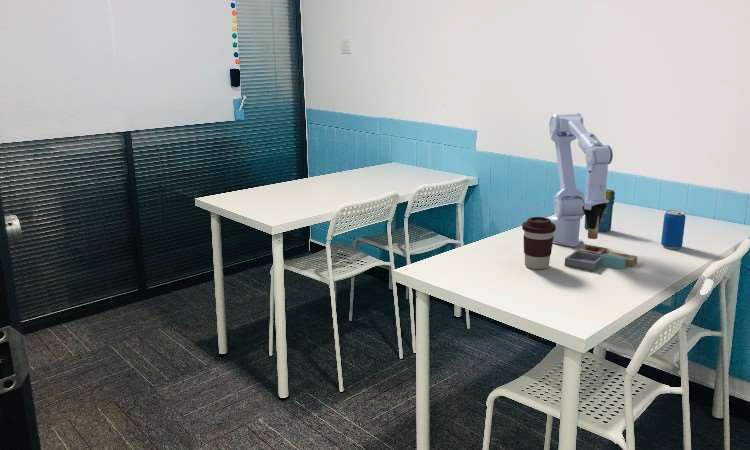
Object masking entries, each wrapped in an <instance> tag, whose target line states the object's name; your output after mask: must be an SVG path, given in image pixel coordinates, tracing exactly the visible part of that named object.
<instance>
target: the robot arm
mask: <svg viewBox="0 0 750 450" xmlns="http://www.w3.org/2000/svg"><path fill="white" fill-rule="evenodd" d="M551 115H552V116H551V117H550V119H549V122H548V127H549V135H550V140H551V141H552V142H554V145H555V154H556V161H557V162H556V163H557V171H558V177H559V178H558V179H559V185H560V186H559V187H560V190H559V191H558V192H557V193H556V194H555V195H554V197H553V209H552V210H553V214H554V215H553V216H552V217H551V219H550V220H551V222H552V223H554V224H555V225H556V230H555V231H554V232H553V244H555V245H561V246H566V247H572V248H576V247H577V246H578V245H580V244H581V243H583V242H584V241H583V239H580V230H581V229H580V227H581V220H582V219H583V217H585V216H586V221H587V227H588V228H589V229H595V227H596V224H597V219H598V216H599V224H600V221H601V218H602V215H603V212H604V210H605V209H606V207H607V204H606V203H608V202H609V200H607V199H606V189H607V183H608V182H607V181H608V173H609V172H608V170H609V165H610V164H611V163H612V161H613V159H614V158H613V156H614V153H613V149H612V148H611V146H610V145H609V144H607V145H606V144H603V143H602V142H601V141H600V140H599V139H598V137H597V136H596V135H595V133H593V132H588V130H587V128H586V127H585V125H584V117H583V115H582V114H581V113H579V112H578V113H565V114H564V113H561V114H559V113H554V114H551ZM575 140H578V142H577V144H578V147H579V148H580V149H581V151H582V152H583V153H584V155H585V156H584V157H585V163H586V170H587V177H586V178H587V179H586V193H585V194H584V192H582V191H581V190H579V189H578V188H577V187H576V178H575V171H574V170H575V168H574V164H573V163H574V162H573V154H572V146H571V143H572V142H573V141H575Z"/></svg>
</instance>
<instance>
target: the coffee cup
mask: <svg viewBox="0 0 750 450" xmlns="http://www.w3.org/2000/svg"><path fill="white" fill-rule="evenodd" d="M521 229H522V230H523V254H524V266H525V267H526V268H529V269H530V270H531V269H532V270H545V269H548V268H549V266H550V261H551V255H552V249H553V244H554V243H553V232H554V231H555V230H556V225H555V224H554V223H552V222H551V219H550V218H548V217H545V216H544V217H543V216H530V217H529V218H527V221H523V223H522V225H521Z"/></svg>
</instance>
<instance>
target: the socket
mask: <svg viewBox="0 0 750 450" xmlns="http://www.w3.org/2000/svg"><path fill="white" fill-rule="evenodd" d="M608 250H609V248H608V247H604V246H603V247H602V246H596V245H591V244H585V245H584V246H582V247H581V248H579V249H578V250H577V251H581V252H586V253H592V254H597V255H602V254H603V253H606V254H608Z"/></svg>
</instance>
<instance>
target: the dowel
mask: <svg viewBox="0 0 750 450" xmlns="http://www.w3.org/2000/svg"><path fill="white" fill-rule="evenodd" d="M598 226H599V216H598V219H597V224H596V227H595V229H589V228H588V229H587V239H590V240H597V239H598V237H599V236H598V235H599V231H598Z"/></svg>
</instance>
